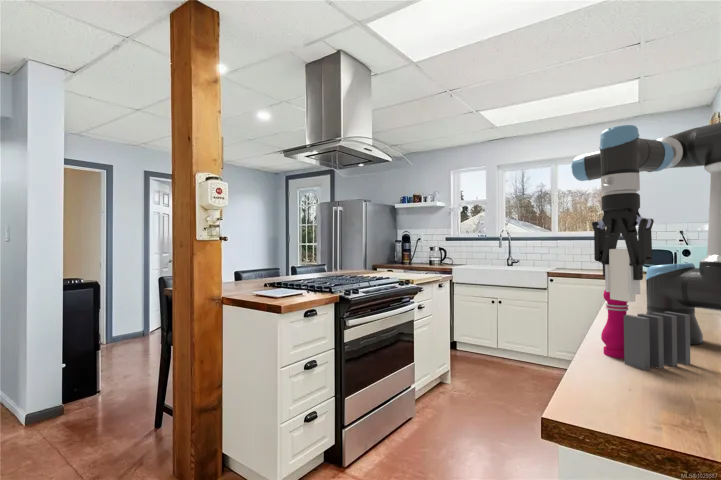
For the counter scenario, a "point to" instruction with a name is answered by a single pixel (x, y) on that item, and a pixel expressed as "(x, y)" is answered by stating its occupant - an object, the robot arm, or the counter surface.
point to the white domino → (619, 275)
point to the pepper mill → (614, 327)
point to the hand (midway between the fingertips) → (622, 292)
